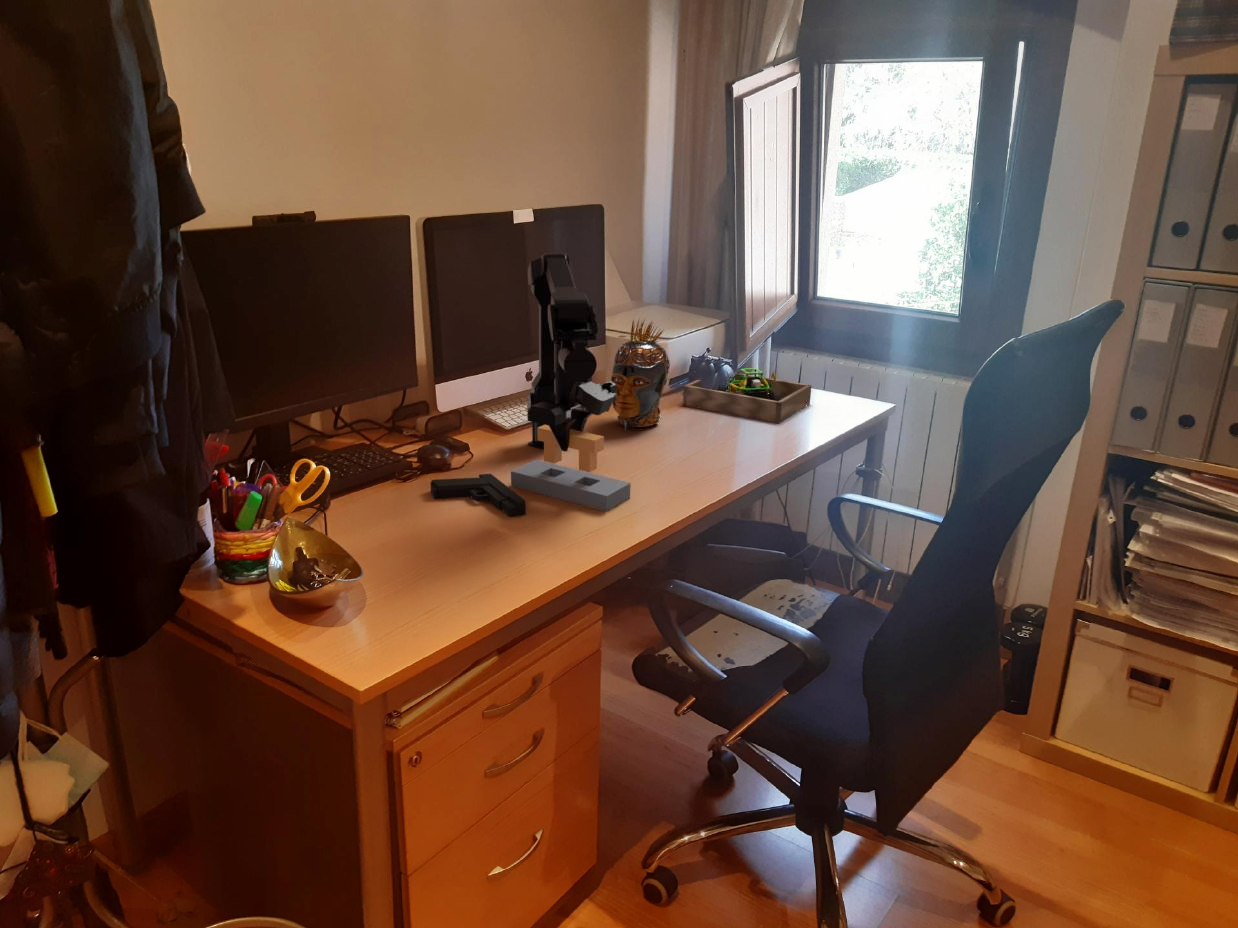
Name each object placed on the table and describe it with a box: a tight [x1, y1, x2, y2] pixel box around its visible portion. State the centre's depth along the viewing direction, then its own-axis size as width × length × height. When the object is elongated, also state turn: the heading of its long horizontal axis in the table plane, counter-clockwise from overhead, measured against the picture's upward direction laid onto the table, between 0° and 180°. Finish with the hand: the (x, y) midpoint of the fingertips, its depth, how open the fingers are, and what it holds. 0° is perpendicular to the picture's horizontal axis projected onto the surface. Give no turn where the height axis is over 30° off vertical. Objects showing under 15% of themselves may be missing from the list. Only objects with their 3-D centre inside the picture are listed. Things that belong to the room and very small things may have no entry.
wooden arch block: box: [537, 425, 605, 473], centre depth 170 cm, size 13×3×6 cm, turn 58°
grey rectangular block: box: [510, 459, 631, 512], centre depth 173 cm, size 22×8×3 cm, turn 58°
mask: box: [610, 317, 671, 433], centre depth 211 cm, size 12×21×25 cm, turn 157°
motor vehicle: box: [718, 367, 781, 406], centre depth 229 cm, size 12×19×10 cm, turn 13°
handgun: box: [429, 473, 527, 517], centre depth 167 cm, size 3×19×12 cm
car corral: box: [682, 372, 812, 424], centre depth 231 cm, size 26×20×5 cm
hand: (569, 448), depth 170 cm, fingers closed on wooden arch block, 3 cm apart
